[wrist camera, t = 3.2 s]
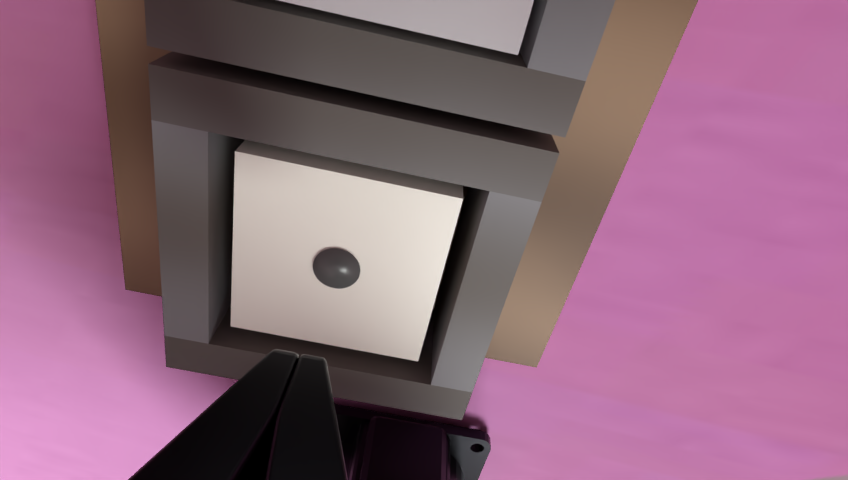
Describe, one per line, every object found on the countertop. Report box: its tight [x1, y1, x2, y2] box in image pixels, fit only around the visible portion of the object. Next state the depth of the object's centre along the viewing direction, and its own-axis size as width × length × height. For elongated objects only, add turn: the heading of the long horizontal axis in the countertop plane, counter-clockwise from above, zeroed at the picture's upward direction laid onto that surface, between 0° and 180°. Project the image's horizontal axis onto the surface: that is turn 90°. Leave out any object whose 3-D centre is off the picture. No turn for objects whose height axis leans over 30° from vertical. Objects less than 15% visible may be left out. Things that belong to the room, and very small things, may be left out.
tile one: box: [231, 140, 463, 361], centre depth 13 cm, size 4×4×2 cm
